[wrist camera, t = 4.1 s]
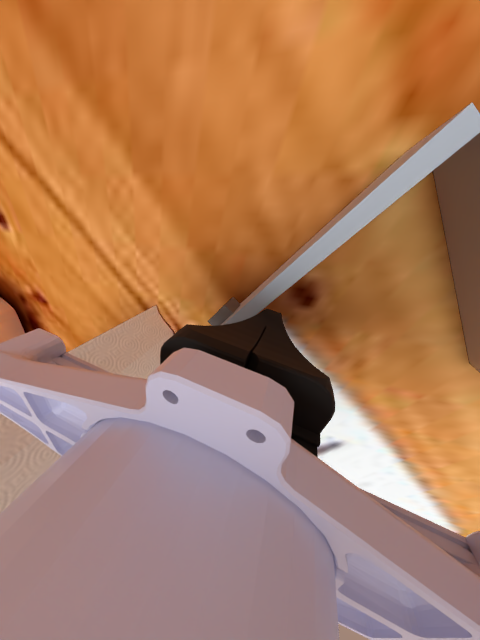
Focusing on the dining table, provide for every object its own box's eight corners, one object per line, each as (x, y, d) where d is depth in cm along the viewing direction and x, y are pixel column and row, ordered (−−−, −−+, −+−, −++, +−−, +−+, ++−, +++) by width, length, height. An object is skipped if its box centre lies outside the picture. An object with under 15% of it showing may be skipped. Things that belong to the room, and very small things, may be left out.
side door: (415, 165, 9) (487, 125, 5) (233, 322, 17) (210, 351, 13) (395, 138, 9) (455, 78, 5) (220, 308, 16) (193, 335, 13)
